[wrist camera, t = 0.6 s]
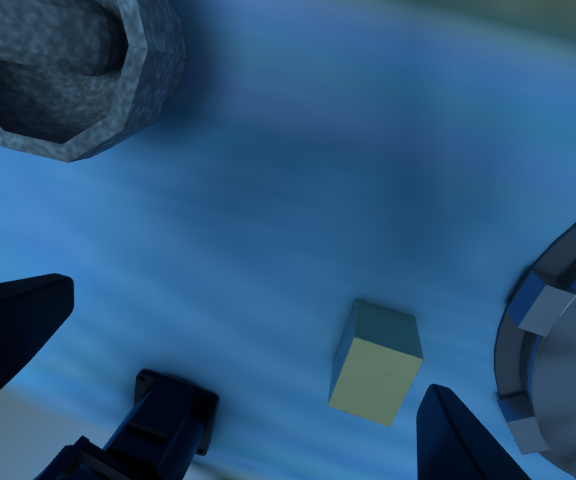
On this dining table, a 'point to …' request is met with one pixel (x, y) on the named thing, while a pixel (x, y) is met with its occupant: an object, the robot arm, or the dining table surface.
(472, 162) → the dining table surface
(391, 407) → the link block
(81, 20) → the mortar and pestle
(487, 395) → the dining table surface
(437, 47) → the dining table surface
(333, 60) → the dining table surface
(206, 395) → the robot arm
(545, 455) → the base mat
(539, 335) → the sprocket
